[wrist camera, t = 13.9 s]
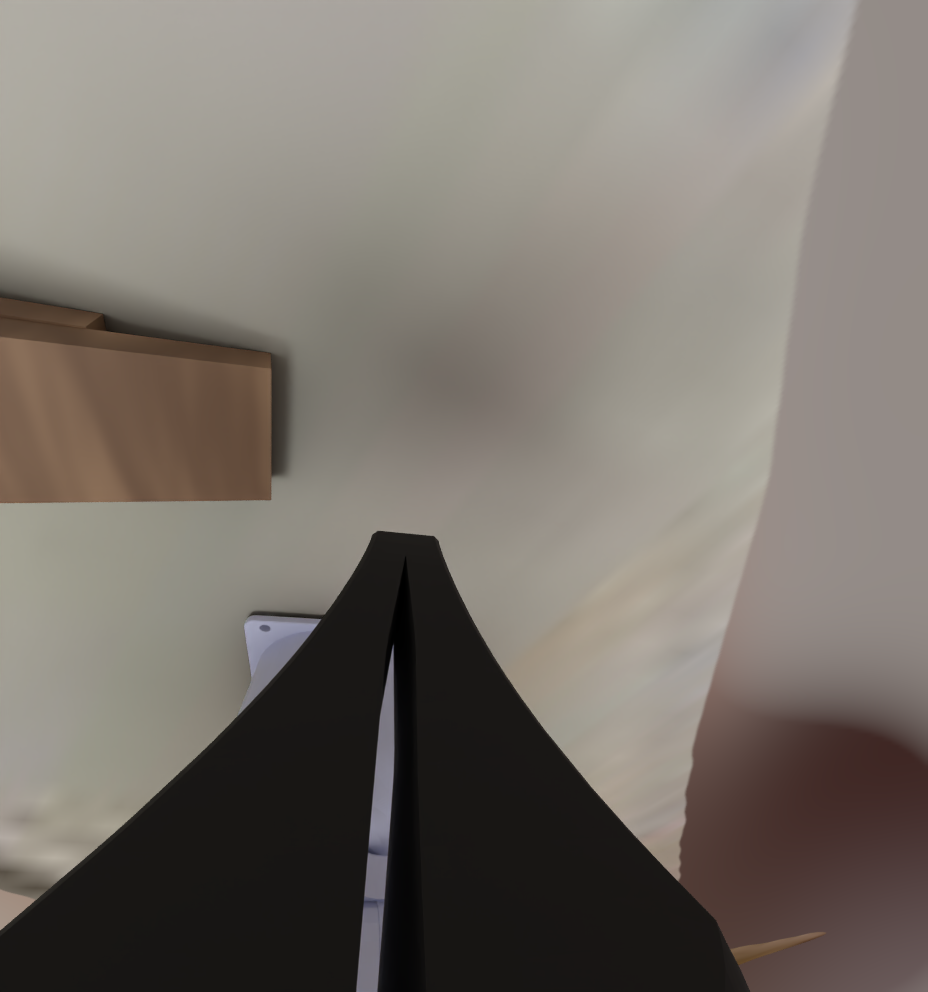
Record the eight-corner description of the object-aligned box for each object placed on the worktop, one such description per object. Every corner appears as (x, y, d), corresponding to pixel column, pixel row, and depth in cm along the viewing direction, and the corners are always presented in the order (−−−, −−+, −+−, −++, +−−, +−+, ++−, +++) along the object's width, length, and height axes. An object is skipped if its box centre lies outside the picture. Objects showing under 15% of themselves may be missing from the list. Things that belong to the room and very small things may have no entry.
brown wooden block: (271, 368, 13) (-192, 314, 9) (271, 499, 15) (-88, 503, 11) (270, 353, 14) (-139, 299, 10) (270, 477, 16) (-55, 473, 12)
